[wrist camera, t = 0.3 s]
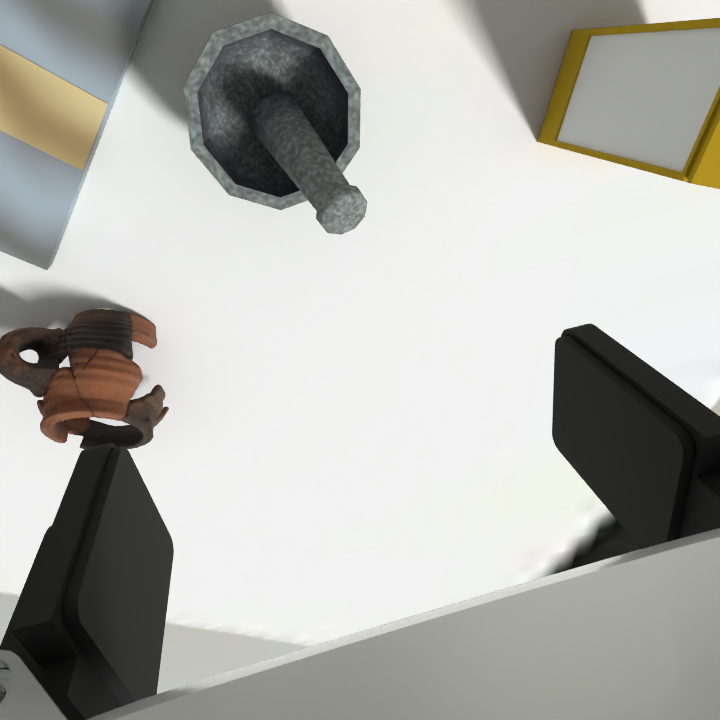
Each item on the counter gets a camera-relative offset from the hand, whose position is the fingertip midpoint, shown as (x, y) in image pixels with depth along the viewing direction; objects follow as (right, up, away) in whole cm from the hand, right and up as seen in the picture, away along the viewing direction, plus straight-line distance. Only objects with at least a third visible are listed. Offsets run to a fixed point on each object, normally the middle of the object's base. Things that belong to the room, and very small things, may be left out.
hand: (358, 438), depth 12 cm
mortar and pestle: (-6, +18, +24) cm, 31 cm away
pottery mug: (-20, +2, +30) cm, 36 cm away
